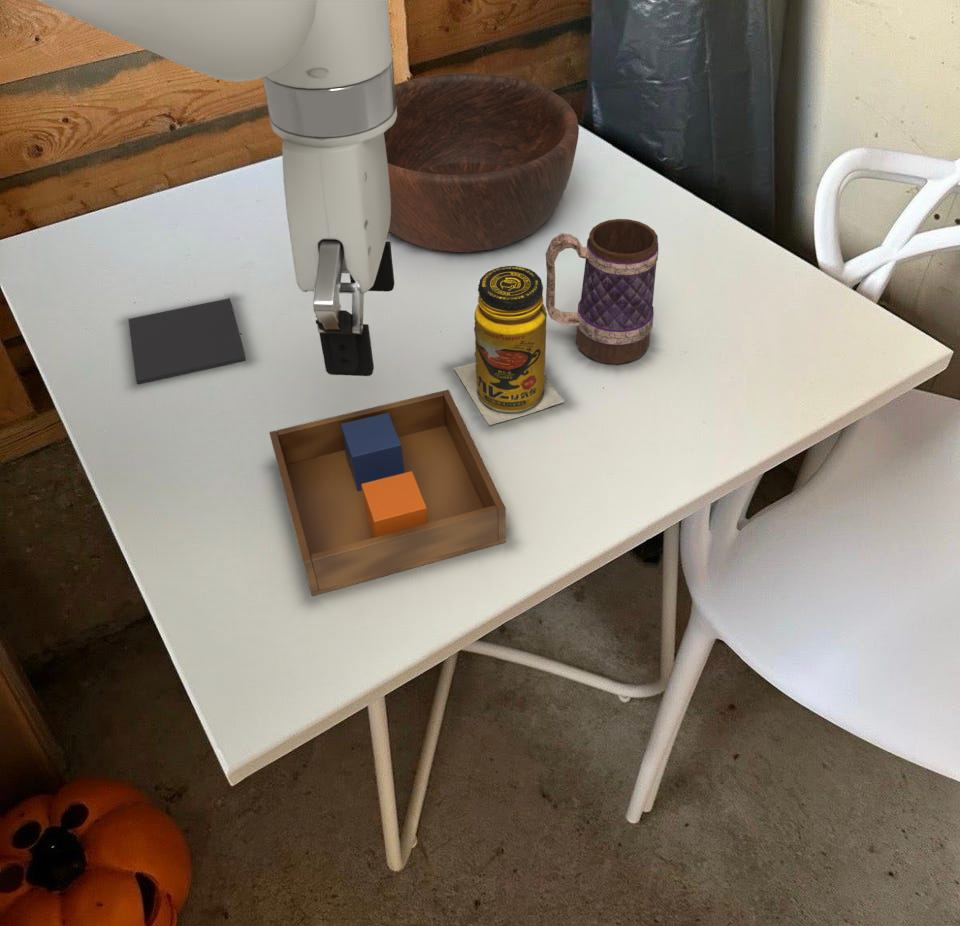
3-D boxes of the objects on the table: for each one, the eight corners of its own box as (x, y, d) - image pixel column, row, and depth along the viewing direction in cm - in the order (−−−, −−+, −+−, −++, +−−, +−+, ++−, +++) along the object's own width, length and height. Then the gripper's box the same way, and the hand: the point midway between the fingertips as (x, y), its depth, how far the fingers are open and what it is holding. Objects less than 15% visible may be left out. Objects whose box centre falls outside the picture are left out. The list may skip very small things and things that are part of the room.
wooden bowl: (581, 160, 113) (587, 76, 106) (563, 277, 96) (569, 186, 89) (382, 148, 116) (374, 66, 109) (330, 260, 99) (316, 171, 91)
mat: (137, 384, 85) (135, 380, 85) (129, 321, 92) (128, 318, 92) (245, 360, 87) (244, 357, 87) (230, 301, 94) (229, 297, 94)
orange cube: (379, 556, 70) (374, 521, 67) (366, 518, 73) (361, 483, 70) (429, 542, 71) (426, 507, 68) (415, 505, 74) (411, 470, 71)
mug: (644, 319, 91) (658, 210, 82) (654, 366, 86) (671, 254, 77) (540, 321, 91) (543, 212, 82) (544, 368, 86) (548, 257, 77)
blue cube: (357, 491, 75) (351, 457, 72) (346, 458, 77) (340, 423, 75) (405, 479, 76) (401, 444, 73) (392, 447, 78) (388, 412, 75)
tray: (311, 596, 68) (303, 562, 65) (277, 466, 78) (269, 431, 75) (505, 542, 71) (505, 508, 69) (450, 423, 81) (448, 389, 78)
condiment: (489, 427, 80) (487, 315, 72) (453, 369, 86) (447, 259, 77) (564, 404, 82) (571, 292, 74) (524, 349, 88) (527, 239, 79)
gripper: (299, 34, 60) (333, 259, 73) (228, 165, 48) (283, 408, 61) (413, 36, 60) (428, 262, 72) (370, 168, 48) (397, 412, 60)
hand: (362, 328), depth 66 cm, fingers open, 9 cm apart
